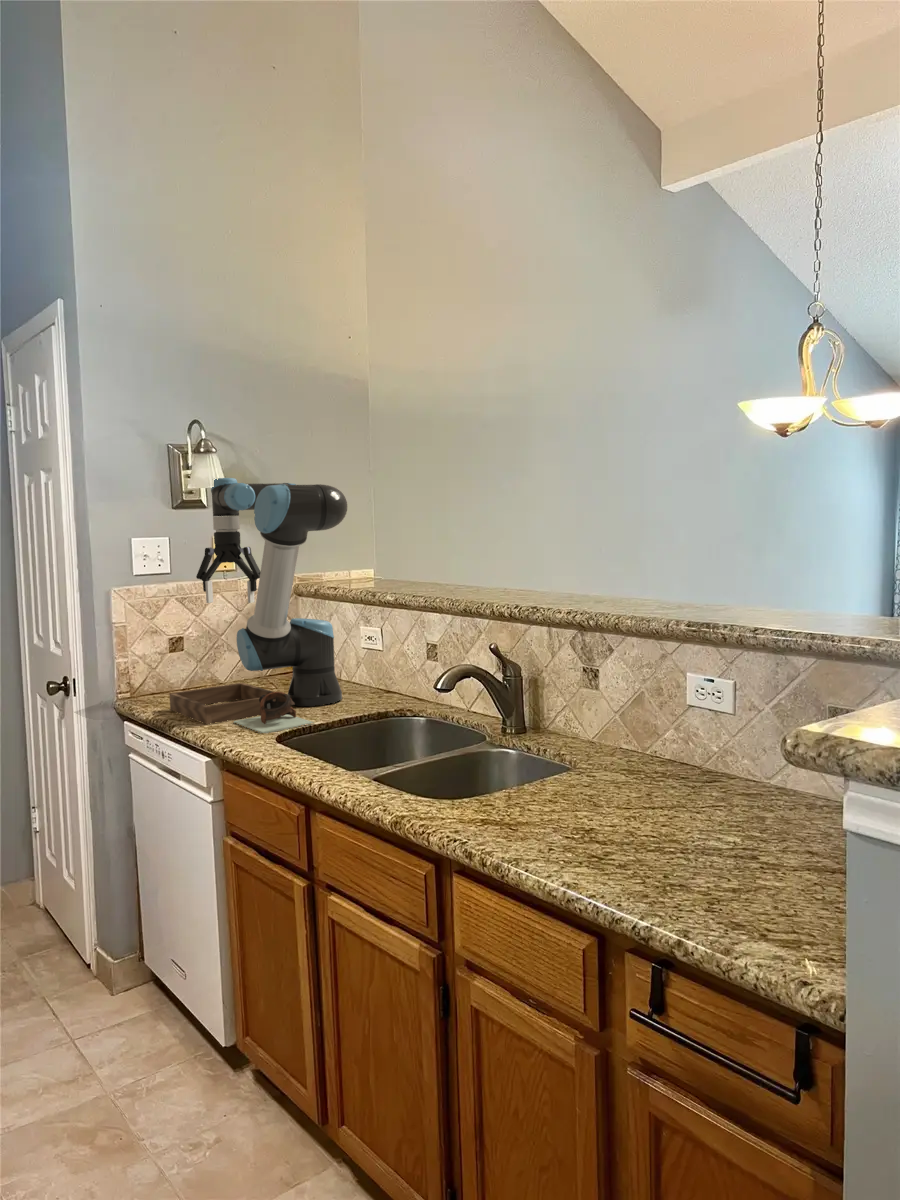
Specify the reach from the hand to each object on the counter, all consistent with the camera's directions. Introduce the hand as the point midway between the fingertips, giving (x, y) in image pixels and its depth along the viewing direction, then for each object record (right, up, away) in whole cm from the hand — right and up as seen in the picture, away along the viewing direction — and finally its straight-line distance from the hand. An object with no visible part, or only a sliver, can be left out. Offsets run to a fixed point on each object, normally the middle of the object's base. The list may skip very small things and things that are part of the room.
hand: (230, 602), depth 266 cm
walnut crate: (+5, -29, -24) cm, 38 cm away
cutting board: (+21, -30, -41) cm, 55 cm away
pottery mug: (+21, -30, -39) cm, 53 cm away
